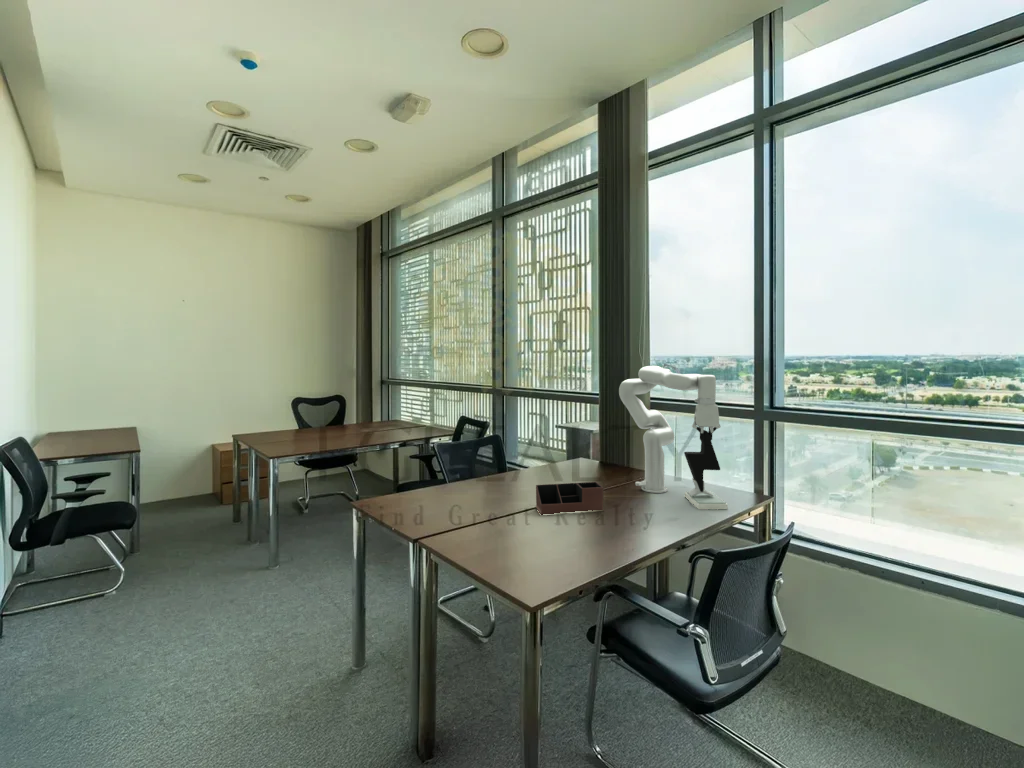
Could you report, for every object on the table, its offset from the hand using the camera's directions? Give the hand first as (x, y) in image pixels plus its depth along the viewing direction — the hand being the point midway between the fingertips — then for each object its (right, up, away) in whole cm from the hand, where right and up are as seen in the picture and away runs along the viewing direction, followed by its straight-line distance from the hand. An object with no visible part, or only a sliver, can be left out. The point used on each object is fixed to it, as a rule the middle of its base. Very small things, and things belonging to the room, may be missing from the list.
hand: (705, 441), depth 225 cm
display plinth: (0, -29, +2) cm, 29 cm away
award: (-1, -25, +2) cm, 25 cm away
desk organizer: (-64, -31, -6) cm, 71 cm away
